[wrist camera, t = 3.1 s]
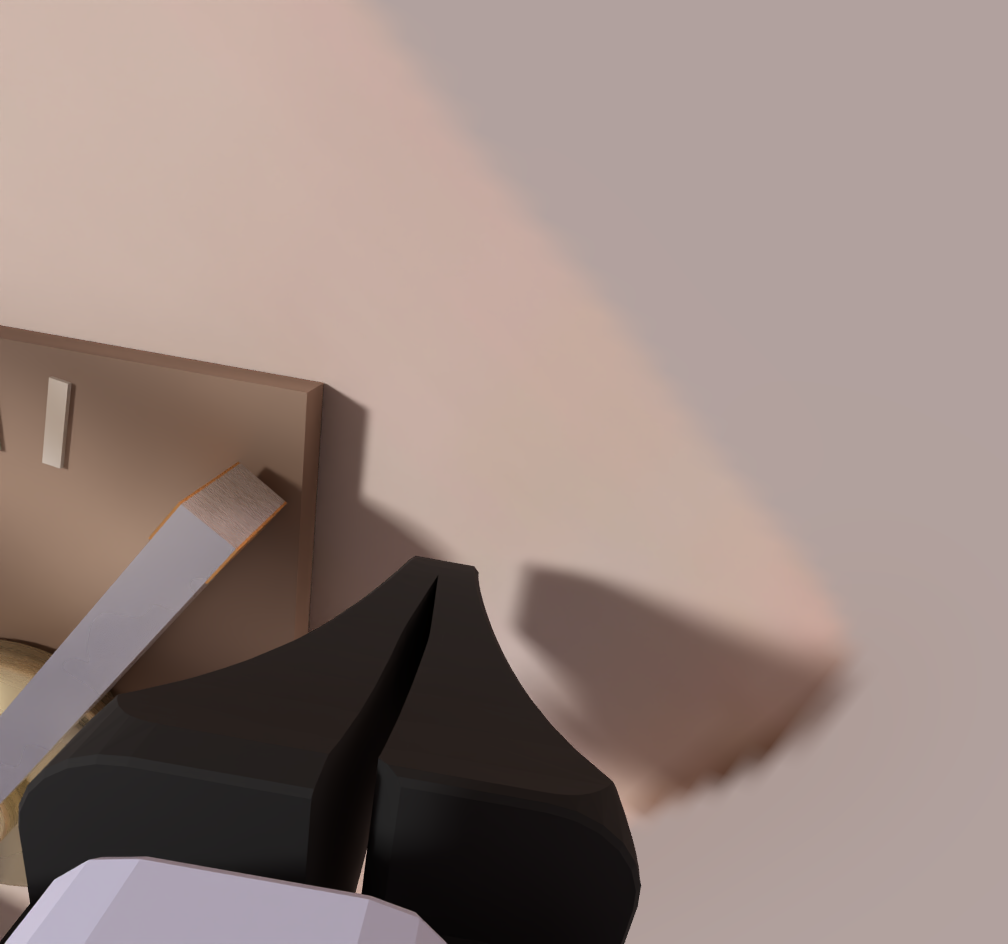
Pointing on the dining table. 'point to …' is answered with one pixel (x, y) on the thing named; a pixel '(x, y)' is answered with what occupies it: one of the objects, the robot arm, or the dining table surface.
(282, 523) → the lever switch plate
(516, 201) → the dining table surface
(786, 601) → the dining table surface
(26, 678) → the switch lever
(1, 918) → the dining table surface
